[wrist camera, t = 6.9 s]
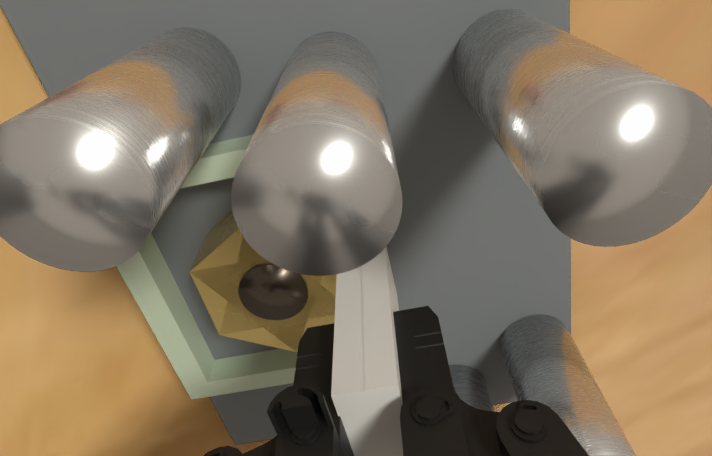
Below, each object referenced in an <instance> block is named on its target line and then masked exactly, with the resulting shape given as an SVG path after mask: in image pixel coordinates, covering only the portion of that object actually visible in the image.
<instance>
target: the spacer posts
mask: <svg viewBox="0 0 712 456" xmlns="http://www.w3.org/2000/svg"><path fill="white" fill-rule="evenodd" d="M453 70H454V76H455V79H456V82H457V84H458V86H459V88H460V90H461V91H462V92H463V94H464V95H465V97H466V98H467V100H468V101H469V103H470V104H471V105H472V107H473V108H474V110H475V111H476V113H477V114H478V116H479V117H480V119H481V120H482V121H483V123H484V124H485V126H486V127H487V129H488V130H489V132H490V133H491V135H492V136H493V137H494V139H495V140H496V142H497V143H498V145H499V146H500V148H501V149H502V151H503V152H504V153H505V155H506V156H507V158H508V159H509V161H510V162H511V164H512V165H513V167H514V168H515V169H516V171H517V172H518V174H519V175H520V177H521V178H522V180H523V181H524V183H525V184H526V185H527V187H528V188H529V190H530V191H531V193H532V194H533V196H534V197H535V198H536V200H537V201H538V203H539V204H540V206H541V207H542V209H543V210H544V212H545V213H546V214H547V216H548V217H549V219H550V220H551V222H552V223H553V224H554V225H555V226H556V228H557V229H558V230H559V231H561V232H562V233H563V234H565V235H566V236H568V237H570V238H572V239H573V240H576V241H578V242H581V243H584V244H588V245H593V246H603V247H607V246H621V245H627V244H631V243H636V242H639V241H642V240H645V239H648V238H650V237H652V236H654V235H657V234H659V233H661V232H662V231H664V230H666V229H668V228H669V227H671V226H672V225H674V224H675V223H677V222H678V221H679V220H681V219H682V218H683V217H684V216H685V215H687V214H688V213H689V212H690V211H691V210H692V209H693V208H694V207H695V206H696V205H697V204H698V202H699V201H700V200H701V199H702V198H703V196H704V195H705V194H706V192H707V191H708V189H709V188H710V186H711V184H712V108H711V106H710V105H709V104H708V103H707V102H706V101H705V100H704V99H702V98H701V97H699V96H698V95H697V94H695V93H693V92H691V91H689V90H687V89H685V88H683V87H681V86H679V85H677V84H674V83H672V82H670V81H668V80H666V79H664V78H662V77H660V76H658V75H656V74H653V73H651V72H649V71H647V70H645V69H643V68H641V67H639V66H637V65H634V64H632V63H630V62H628V61H626V60H624V59H622V58H620V57H618V56H616V55H613V54H611V53H609V52H607V51H605V50H603V49H601V48H599V47H597V46H595V45H592V44H590V43H588V42H586V41H584V40H582V39H580V38H578V37H576V36H574V35H571V34H569V33H567V32H565V31H563V30H561V29H559V28H557V27H555V26H552V25H550V24H548V23H546V22H544V21H542V20H540V19H538V18H536V17H534V16H531V15H529V14H527V13H525V12H523V11H519V10H514V9H502V10H496V11H493V12H490V13H488V14H486V15H484V16H482V17H480V18H479V19H477V20H476V21H475V22H473V23H472V24H471V25H470V26H469V27H468V28H467V30H466V31H465V32H464V34H463V35H462V37H461V38H460V40H459V42H458V44H457V47H456V50H455V54H454V61H453ZM240 91H241V74H240V70H239V66H238V64H237V61H236V59H235V57H234V55H233V54H232V52H231V51H230V50H229V48H228V47H227V46H226V45H225V44H224V43H223V42H222V41H221V40H220V39H218V38H217V37H215V36H214V35H212V34H210V33H208V32H206V31H203V30H201V29H197V28H190V27H181V28H175V29H172V30H169V31H167V32H165V33H164V34H162V35H160V36H158V37H156V38H155V39H153V40H151V41H149V42H147V43H146V44H144V45H142V46H140V47H138V48H137V49H135V50H133V51H131V52H130V53H128V54H126V55H124V56H122V57H121V58H119V59H117V60H115V61H113V62H112V63H110V64H108V65H106V66H104V67H103V68H101V69H99V70H97V71H95V72H94V73H92V74H90V75H88V76H87V77H85V78H83V79H81V80H79V81H78V82H76V83H74V84H72V85H70V86H69V87H67V88H65V89H63V90H61V91H60V92H58V93H56V94H54V95H52V96H51V97H49V98H47V99H45V100H44V101H42V102H40V103H38V104H36V105H35V106H33V107H31V108H29V109H27V110H26V111H24V112H22V113H20V114H18V115H17V116H15V117H13V118H11V119H9V120H8V121H6V122H4V123H2V124H1V125H0V236H1V237H2V238H3V239H4V240H5V241H7V242H8V243H9V244H10V245H12V246H13V247H14V248H16V249H17V250H19V251H20V252H22V253H24V254H25V255H27V256H29V257H31V258H33V259H35V260H37V261H39V262H41V263H44V264H47V265H49V266H52V267H56V268H60V269H64V270H70V271H80V272H92V271H100V270H105V269H109V268H113V267H115V266H118V265H120V264H122V263H124V262H125V261H127V260H129V259H130V258H131V257H132V256H134V255H135V254H136V253H137V252H138V250H139V249H140V248H141V247H142V245H143V244H144V242H145V241H146V239H147V238H148V236H149V235H150V233H151V232H152V230H153V229H154V227H155V226H156V224H157V223H158V221H159V219H160V218H161V216H162V215H163V213H164V212H165V210H166V209H167V207H168V206H169V204H170V203H171V201H172V200H173V198H174V197H175V195H176V194H177V192H178V191H179V189H180V188H181V186H182V184H183V183H184V181H185V180H186V178H187V177H188V175H189V174H190V172H191V171H192V169H193V168H194V166H195V165H196V163H197V162H198V160H199V159H200V157H201V156H202V154H203V153H204V151H205V150H206V148H207V146H208V145H209V143H210V142H211V140H212V139H213V137H214V136H215V134H216V133H217V131H218V130H219V128H220V127H221V125H222V124H223V122H224V121H225V119H226V118H227V116H228V115H229V113H230V111H231V110H232V108H233V107H234V105H235V104H236V102H237V100H238V98H239V95H240ZM231 205H232V211H233V215H234V218H235V222H236V224H237V226H238V228H239V230H240V232H241V234H242V235H243V237H244V238H245V240H246V241H247V242H248V244H249V245H250V246H251V247H252V248H253V249H254V250H255V251H256V252H257V253H258V254H259V255H261V256H262V257H263V258H265V259H266V260H268V261H269V262H271V263H273V264H274V265H276V266H278V267H281V268H283V269H285V270H288V271H292V272H295V273H299V274H304V275H314V276H327V275H335V274H340V273H344V272H348V271H351V270H353V269H356V268H358V267H360V266H362V265H364V264H366V263H367V262H369V261H370V260H372V259H374V258H375V257H376V256H377V255H378V254H379V253H381V252H382V250H383V249H384V248H385V247H386V246H387V245H388V244H389V242H390V241H391V239H392V238H393V236H394V234H395V232H396V230H397V228H398V225H399V222H400V219H401V213H402V191H401V186H400V181H399V175H398V170H397V165H396V160H395V155H394V150H393V145H392V140H391V135H390V130H389V124H388V119H387V114H386V109H385V104H384V99H383V94H382V89H381V84H380V79H379V73H378V69H377V65H376V62H375V60H374V58H373V56H372V54H371V53H370V51H369V50H368V49H367V47H366V46H365V45H364V44H363V43H361V42H360V41H359V40H358V39H356V38H354V37H352V36H350V35H348V34H345V33H341V32H334V31H328V32H321V33H317V34H314V35H312V36H310V37H308V38H307V39H305V40H304V41H302V42H301V43H300V44H299V45H298V46H297V47H296V49H295V50H294V51H293V53H292V54H291V56H290V58H289V61H288V63H287V65H286V67H285V69H284V71H283V73H282V75H281V78H280V80H279V82H278V84H277V86H276V88H275V90H274V92H273V95H272V97H271V99H270V101H269V103H268V105H267V107H266V110H265V112H264V114H263V116H262V118H261V120H260V122H259V124H258V127H257V129H256V131H255V133H254V135H253V137H252V139H251V141H250V144H249V146H248V148H247V150H246V152H245V154H244V156H243V158H242V161H241V163H240V165H239V167H238V169H237V171H236V173H235V177H234V180H233V183H232V191H231ZM499 350H500V353H501V355H502V358H503V361H504V364H505V367H506V370H507V372H508V375H509V378H510V381H511V384H512V386H513V389H514V392H515V395H516V398H517V401H521V400H531V401H538V402H540V403H542V404H545V405H547V406H549V407H550V408H551V409H552V410H553V411H555V412H556V413H557V414H558V415H559V417H560V418H561V419H562V421H563V422H564V423H565V424H566V426H567V427H568V428H569V430H570V431H571V432H572V434H573V435H574V436H575V438H576V439H577V440H578V442H579V443H580V444H581V446H582V447H583V448H584V450H585V451H586V452H587V454H588V455H589V456H636V455H635V453H634V451H633V449H632V447H631V445H630V444H629V442H628V440H627V438H626V436H625V434H624V432H623V431H622V429H621V427H620V425H619V423H618V421H617V420H616V418H615V416H614V414H613V412H612V410H611V409H610V407H609V405H608V403H607V401H606V399H605V397H604V396H603V394H602V392H601V390H600V388H599V386H598V385H597V383H596V381H595V379H594V377H593V375H592V374H591V372H590V370H589V368H588V366H587V364H586V362H585V361H584V359H583V357H582V355H581V353H580V351H579V350H578V348H577V346H576V344H575V342H574V340H573V339H572V337H571V335H570V333H569V331H568V329H567V328H566V326H565V324H564V323H563V322H562V321H561V320H559V319H558V318H556V317H553V316H550V315H544V314H536V315H530V316H526V317H523V318H520V319H518V320H516V321H514V322H513V323H512V324H510V325H509V326H508V327H507V328H506V329H505V330H504V331H503V333H502V335H501V337H500V339H499ZM449 368H450V373H451V377H452V382H453V386H454V389H455V391H456V393H457V395H458V396H459V397H460V399H461V400H463V401H464V402H465V403H467V404H468V405H470V406H472V407H474V408H477V409H481V410H486V411H493V412H495V410H494V407H493V404H492V400H491V397H490V394H489V390H488V387H487V384H486V380H485V378H484V376H483V375H482V374H481V372H479V371H478V370H477V369H475V368H473V367H470V366H466V365H449Z"/></svg>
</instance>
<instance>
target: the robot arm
mask: <svg viewBox="0 0 712 456" xmlns="http://www.w3.org/2000/svg"><path fill="white" fill-rule="evenodd" d="M267 414H268V416H269V418H270V420H271V422H272V425H273V427H274V429H275V431H276V433H277V436H275V437H274V438H273V439H272V440H271V441H269V442H267V443H265V444H264V445H262V446H259V447H257V448H255V449H253V450H251V451H248V452H246V453H244V454H242V453H241V452H240V451H239V450H238V449H237V448H233V447H230V446H226V447H218V448H216V449H214V450H212V451H209V452H207V453H206V454H205V455H204V456H589V455H588V454H587V452H586V451H585V450H584V448H583V447H582V446H581V444H580V443H579V442H578V440H577V439H576V438H575V436H574V435H573V434H572V432H571V431H570V430H569V428H568V427H567V426H566V424H565V423H564V422H563V421H562V419H561V418H560V417H559V415H558V414H557V413H556V412H555V411H553V410H552V409H551V408H550V407H549V406H547V405H545V404H542V403H540V402H538V401H531V400H521V401H515V402H512V403H510V404H509V405H507V406H505V407H504V408H503V409H502V410H501V412H493V411H486V410H481V409H477V408H474V407H472V406H470V405H468V404H467V403H465V402H464V401H463V400H461V399H460V397H459V396H458V395H457V393H456V391H455V389H454V386H453V382H452V377H451V373H450V368H449V364H448V359H447V355H446V350H445V346H444V341H443V337H442V332H441V328H440V323H439V319H438V316H437V315H436V314H435V313H434V312H433V311H432V310H431V308H430V307H429V306H424V307H418V308H412V309H406V310H401V311H399V306H398V298H397V292H396V287H395V283H394V278H393V274H392V269H391V265H390V261H389V256H388V252H387V247H385V248H384V249H383V250H382V252H381V253H379V254H378V255H377V256H376V257H375V258H374V259H372V260H370V261H369V262H367V263H366V264H364V265H362V266H360V267H358V268H356V269H353V270H351V271H348V272H344V273H340V274H337V278H336V300H335V322H334V323H333V324H327V325H321V326H315V327H310V328H307V329H306V331H305V333H304V334H303V336H302V337H301V339H300V341H299V344H298V352H297V360H296V371H295V375H294V383H293V386H290V387H287V388H286V389H284V390H283V391H281V392H279V393H278V394H277V395H276V396H275V397H274V399H273V400H272V401H271V402H270V404H269V407H268V410H267Z"/></svg>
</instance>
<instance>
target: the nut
mask: <svg viewBox="0 0 712 456" xmlns="http://www.w3.org/2000/svg"><path fill="white" fill-rule="evenodd" d="M190 274H191V276H192V278H193V281H194V283H195V285H196V287H197V289H198V291H199V293H200V295H201V297H202V299H203V302H204V304H205V306H206V308H207V310H208V312H209V314H210V316H211V318H212V320H213V323H214V325H215V327H216V329H217V331H218V333H219V335H221V336H226V337H230V338H235V339H239V340H244V341H248V342H253V343H257V344H262V345H266V346H271V347H275V348H280V349H284V350H289V351H293V352H297V351H298V344H299V341H300V339H301V337H302V336H303V334H304V333H305V331H306V329H307V328H310V327H315V326H321V325H327V324H333V323H334V322H335V300H336V278H337V274H335V275H327V276H314V275H304V274H299V273H295V272H292V271H288V270H285V269H283V268H281V267H278V266H276V265H274V264H273V263H271V262H269V261H268V260H266V259H265V258H263V257H262V256H261V255H259V254H258V253H257V252H256V251H255V250H254V249H253V248H252V247H251V246H250V245H249V244H248V242H247V241H246V240H245V238H244V237H243V235H242V234H241V232H240V230H239V228H238V226H237V224H236V222H235V218H234V215H233V211H232V210H231V211H230V212H229V213H228V214H227V215H226V216H225V217H224V218H222V219H221V220H220V221H219V222H218V223H217V224H216V225H215V226H214V227H213V228H211V229H210V230H209V232H208V234H207V236H206V238H205V240H204V242H203V244H202V247H201V249H200V251H199V253H198V255H197V257H196V259H195V261H194V264H193V266H192V268H191V270H190Z"/></svg>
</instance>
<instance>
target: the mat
mask: <svg viewBox="0 0 712 456" xmlns="http://www.w3.org/2000/svg"><path fill="white" fill-rule="evenodd" d="M0 6H1V8H2V9H3V11H4V13H5V15H6V17H7V19H8V21H9V23H10V24H11V26H12V28H13V30H14V32H15V34H16V36H17V37H18V39H19V41H20V43H21V45H22V47H23V49H24V51H25V52H26V54H27V56H28V58H29V60H30V62H31V64H32V66H33V67H34V69H35V71H36V73H37V75H38V77H39V79H40V81H41V82H42V84H43V86H44V88H45V90H46V92H47V94H48V95H49V97H51V96H52V95H54V94H56V93H58V92H60V91H61V90H63V89H65V88H67V87H69V86H70V85H72V84H74V83H76V82H78V81H79V80H81V79H83V78H85V77H87V76H88V75H90V74H92V73H94V72H95V71H97V70H99V69H101V68H103V67H104V66H106V65H108V64H110V63H112V62H113V61H115V60H117V59H119V58H121V57H122V56H124V55H126V54H128V53H130V52H131V51H133V50H135V49H137V48H138V47H140V46H142V45H144V44H146V43H147V42H149V41H151V40H153V39H155V38H156V37H158V36H160V35H162V34H164V33H165V32H167V31H169V30H172V29H175V28H181V27H190V28H197V29H201V30H203V31H206V32H208V33H210V34H212V35H214V36H215V37H217V38H218V39H220V40H221V41H222V42H223V43H224V44H225V45H226V46H227V47H228V48H229V50H230V51H231V52H232V54H233V55H234V57H235V59H236V61H237V64H238V66H239V70H240V74H241V91H240V95H239V98H238V100H237V102H236V104H235V105H234V107H233V108H232V110H231V111H230V113H229V115H228V116H227V118H226V119H225V121H224V122H223V124H222V125H221V127H220V128H219V130H218V131H217V133H216V134H215V136H214V137H213V139H212V140H211V142H210V143H209V144H212V143H217V142H221V141H226V140H231V139H235V138H240V137H244V136H249V135H253V134H254V133H255V131H256V129H257V127H258V124H259V122H260V120H261V118H262V116H263V114H264V112H265V110H266V107H267V105H268V103H269V101H270V99H271V97H272V95H273V92H274V90H275V88H276V86H277V84H278V82H279V80H280V78H281V75H282V73H283V71H284V69H285V67H286V65H287V63H288V61H289V58H290V56H291V54H292V53H293V51H294V50H295V49H296V47H297V46H298V45H299V44H300V43H301V42H302V41H304V40H305V39H307V38H308V37H310V36H312V35H314V34H317V33H321V32H328V31H334V32H341V33H345V34H348V35H350V36H352V37H354V38H356V39H358V40H359V41H360V42H361V43H363V44H364V45H365V46H366V47H367V49H368V50H369V51H370V53H371V54H372V56H373V58H374V60H375V62H376V65H377V69H378V73H379V79H380V84H381V89H382V94H383V99H384V104H385V109H386V114H387V119H388V124H389V130H390V135H391V140H392V145H393V150H394V155H395V160H396V165H397V170H398V175H399V181H400V186H401V191H402V213H401V219H400V222H399V225H398V228H397V230H396V232H395V234H394V236H393V238H392V239H391V241H390V242H389V244H388V245H387V246H386V247H387V252H388V256H389V261H390V265H391V269H392V274H393V278H394V283H395V287H396V292H397V298H398V306H399V311H401V310H406V309H412V308H418V307H424V306H429V307H430V308H431V310H432V311H433V312H434V313H435V314H436V315H437V316H438V319H439V323H440V328H441V332H442V337H443V341H444V346H445V350H446V355H447V359H448V364H449V365H466V366H470V367H473V368H475V369H477V370H478V371H479V372H481V374H482V375H483V376H484V378H485V380H486V384H487V387H488V390H489V394H490V397H491V400H492V404H493V405H497V404H503V403H510V402H515V401H517V398H516V395H515V392H514V389H513V386H512V384H511V381H510V378H509V375H508V372H507V370H506V367H505V364H504V361H503V358H502V355H501V353H500V350H499V339H500V337H501V335H502V333H503V331H504V330H505V329H506V328H507V327H508V326H509V325H510V324H512V323H513V322H514V321H516V320H518V319H520V318H523V317H526V316H530V315H536V314H544V315H550V316H553V317H556V318H558V319H559V320H561V321H562V322H563V323H564V324H565V326H566V328H567V329H568V331H569V333H570V335H571V247H570V237H568V236H566V235H565V234H563V233H562V232H561V231H559V230H558V229H557V228H556V226H555V225H554V224H553V223H552V222H551V220H550V219H549V217H548V216H547V214H546V213H545V212H544V210H543V209H542V207H541V206H540V204H539V203H538V201H537V200H536V198H535V197H534V196H533V194H532V193H531V191H530V190H529V188H528V187H527V185H526V184H525V183H524V181H523V180H522V178H521V177H520V175H519V174H518V172H517V171H516V169H515V168H514V167H513V165H512V164H511V162H510V161H509V159H508V158H507V156H506V155H505V153H504V152H503V151H502V149H501V148H500V146H499V145H498V143H497V142H496V140H495V139H494V137H493V136H492V135H491V133H490V132H489V130H488V129H487V127H486V126H485V124H484V123H483V121H482V120H481V119H480V117H479V116H478V114H477V113H476V111H475V110H474V108H473V107H472V105H471V104H470V103H469V101H468V100H467V98H466V97H465V95H464V94H463V92H462V91H461V90H460V88H459V86H458V84H457V82H456V79H455V76H454V70H453V61H454V54H455V50H456V47H457V44H458V42H459V40H460V38H461V37H462V35H463V34H464V32H465V31H466V30H467V28H468V27H469V26H470V25H471V24H472V23H473V22H475V21H476V20H477V19H479V18H480V17H482V16H484V15H486V14H488V13H490V12H493V11H496V10H502V9H514V10H519V11H523V12H525V13H527V14H529V15H531V16H534V17H536V18H538V19H540V20H542V21H544V22H546V23H548V24H550V25H552V26H555V27H557V28H559V29H561V30H563V31H565V32H567V33H569V34H570V0H0ZM233 180H234V177H233V178H228V179H223V180H218V181H214V182H209V183H204V184H199V185H195V186H190V187H185V188H180V189H179V191H178V192H177V194H176V195H175V197H174V198H173V200H172V201H171V203H170V204H169V206H168V207H167V209H166V210H165V212H164V213H163V215H162V216H161V218H160V219H159V221H158V223H157V224H156V226H155V227H154V229H153V230H152V232H151V234H152V236H153V238H154V240H155V242H156V244H157V246H158V248H159V250H160V252H161V254H162V256H163V258H164V260H165V262H166V264H167V266H168V268H169V270H170V272H171V274H172V276H173V278H174V280H175V282H176V284H177V286H178V288H179V290H180V292H181V294H182V296H183V298H184V300H185V302H186V304H187V306H188V308H189V310H190V312H191V314H192V316H193V318H194V320H195V322H196V324H197V326H198V328H199V330H200V332H201V334H202V336H203V338H204V340H205V342H206V344H207V346H208V348H209V350H210V352H211V354H212V356H213V358H214V360H217V359H223V358H229V357H234V356H240V355H246V354H252V353H258V352H263V351H269V350H275V349H280V348H275V347H271V346H266V345H262V344H257V343H253V342H248V341H244V340H239V339H235V338H230V337H226V336H221V335H219V333H218V331H217V329H216V327H215V325H214V323H213V320H212V318H211V316H210V314H209V312H208V310H207V308H206V306H205V304H204V302H203V299H202V297H201V295H200V293H199V291H198V289H197V287H196V285H195V283H194V281H193V278H192V276H191V274H190V270H191V268H192V266H193V264H194V261H195V259H196V257H197V255H198V253H199V251H200V249H201V247H202V244H203V242H204V240H205V238H206V236H207V234H208V232H209V230H210V229H211V228H213V227H214V226H215V225H216V224H217V223H218V222H219V221H220V220H221V219H222V218H224V217H225V216H226V215H227V214H228V213H229V212H230V211H231V210H232V205H231V191H232V183H233ZM290 386H293V383H290V384H284V385H278V386H272V387H265V388H259V389H253V390H247V391H241V392H235V393H229V394H223V395H217V396H211V397H210V399H211V400H212V402H213V404H214V406H215V408H216V410H217V412H218V413H219V415H220V417H221V419H222V421H223V423H224V425H225V427H226V428H227V430H228V432H229V434H230V436H231V438H232V440H233V442H234V443H235V445H237V444H243V443H250V442H256V441H263V440H269V439H273V438H274V437H275V436H277V433H276V431H275V429H274V427H273V425H272V422H271V420H270V418H269V416H268V414H267V410H268V407H269V404H270V402H271V401H272V400H273V399H274V397H275V396H276V395H277V394H278V393H279V392H281V391H283V390H284V389H286V388H287V387H290Z"/></svg>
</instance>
